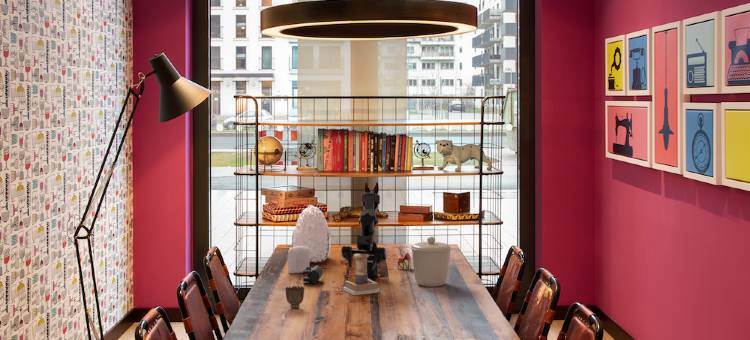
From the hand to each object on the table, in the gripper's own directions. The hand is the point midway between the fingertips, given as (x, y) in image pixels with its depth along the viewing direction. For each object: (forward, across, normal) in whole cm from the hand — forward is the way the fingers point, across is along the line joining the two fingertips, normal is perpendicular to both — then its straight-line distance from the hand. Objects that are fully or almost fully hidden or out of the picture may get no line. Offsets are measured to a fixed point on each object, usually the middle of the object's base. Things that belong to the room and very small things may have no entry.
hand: (360, 269), depth 364 cm
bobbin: (+5, 0, +6) cm, 8 cm away
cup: (+30, -19, -17) cm, 39 cm away
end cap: (-2, -24, +16) cm, 29 cm away
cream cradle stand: (+6, 0, +7) cm, 10 cm away
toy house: (-28, +8, +43) cm, 52 cm away
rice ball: (-37, -40, +51) cm, 74 cm away
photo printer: (-16, -37, +30) cm, 50 cm away
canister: (-8, +27, +21) cm, 35 cm away
